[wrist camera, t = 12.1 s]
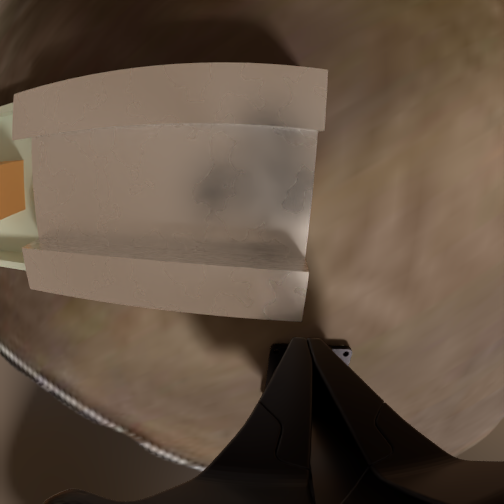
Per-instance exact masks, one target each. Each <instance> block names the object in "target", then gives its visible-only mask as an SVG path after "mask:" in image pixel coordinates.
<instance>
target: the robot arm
mask: <svg viewBox="0 0 504 504" xmlns="http://www.w3.org/2000/svg"><path fill="white" fill-rule="evenodd" d="M276 349H278V350H279V351H274V350H276ZM344 352H347V353H344ZM351 356H352V350H351V348H350V347H349V346H327V345H326V344H325V343H324V342H323V341H322V340H321V339H319V338H308V339H307V340H306V338H298V337H294V338H292V340H291V342H290V344H273V345H272V346H271V347H270V354H269V362H268V370H267V379H266V387H265V391H264V393H263V394H262V396H261V398H260V400H259V402H258V404H257V405H256V407H255V408H254V410H253V412H252V413H251V415H250V417H249V418H248V420H247V421H246V423H245V424H244V426H243V427H242V428H241V429H240V431H239V432H238V433H237V434H236V436H235V437H234V438H233V439H232V440H231V441H230V443H229V444H228V445H227V446H226V447H225V448H224V449H223V450H222V452H221V453H220V454H219V455H218V456H217V457H216V458H215V459H214V460H213V461H212V463H211V464H210V465H209V466H208V467H207V468H206V469H205V470H204V471H202V472H201V473H200V474H199V475H198V476H196V477H195V478H193V479H191V480H189V481H187V482H185V483H182V484H180V485H178V486H175V487H173V488H170V489H168V490H165V491H163V492H161V493H158V494H155V495H152V496H149V497H147V498H144V499H140V500H136V501H126V502H125V501H116V500H111V499H107V498H104V497H101V496H98V495H96V494H93V493H90V492H87V491H84V490H79V489H68V490H65V491H63V492H60V493H58V494H56V495H54V496H52V497H50V498H48V499H47V500H45V502H44V503H42V504H504V462H498V461H497V462H494V461H467V460H462V459H458V458H456V457H453V456H452V455H450V454H448V453H447V452H445V451H444V450H442V449H441V448H440V447H438V446H437V445H436V444H434V443H433V442H432V441H430V440H429V439H428V438H426V437H425V436H424V435H422V434H421V433H420V432H418V431H417V430H416V429H415V428H413V427H412V426H411V425H410V424H408V423H407V422H406V421H405V420H404V419H402V418H401V417H400V416H399V415H398V414H397V413H396V412H395V411H394V410H393V409H392V408H391V407H390V406H389V405H388V404H386V403H384V401H383V400H382V399H381V398H380V397H379V396H378V395H377V394H376V393H375V392H374V391H373V390H372V389H371V388H370V387H369V386H368V385H367V384H366V383H365V382H364V381H363V380H362V379H361V378H360V377H359V376H358V375H357V374H356V373H355V372H354V371H353V370H352V369H351V368H350V367H349V363H350V359H351Z"/></svg>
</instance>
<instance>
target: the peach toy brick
mask: <svg viewBox="0 0 504 504" xmlns="http://www.w3.org/2000/svg"><path fill="white" fill-rule="evenodd" d="M25 209H26V207H25V192H24V160H15V161H3V162H0V220H2V219H4V218H6V217H8V216H11V215H13V214H15V213H18V212H20V211H22V210H25Z"/></svg>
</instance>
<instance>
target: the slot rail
mask: <svg viewBox="0 0 504 504" xmlns="http://www.w3.org/2000/svg"><path fill="white" fill-rule="evenodd" d="M327 79H328V70H325V69H317V68H309V67H300V66H290V65H278V64H262V63H230V62H216V63H184V64H168V65H156V66H146V67H137V68H129V69H122V70H115V71H109V72H103V73H97V74H92V75H86V76H81V77H77V78H72V79H67V80H63V81H59V82H55V83H51V84H47V85H43V86H40V87H36V88H33V89H29V90H26V91H22V92H19V93H16V94H14V101H13V120H12V141H13V140H21V139H29V138H32V177H33V192H34V203H35V213H36V221H37V229H38V236H39V238H38V239H36V240H35V241H33V242H31V243H29V244H28V245H26V246H24V247H22V252H23V257H24V262H25V267H26V272H27V276H28V281H29V285H30V289H34V290H39V291H44V292H49V293H55V294H60V295H66V296H71V297H77V298H83V299H89V300H96V301H102V302H108V303H115V304H122V305H129V306H136V307H144V308H152V309H160V310H168V311H177V312H186V313H195V314H205V315H215V316H226V317H238V318H251V319H264V320H280V321H297V322H302V317H303V310H304V304H305V297H306V291H307V284H308V277H309V270H308V266H307V263H306V259H305V254H306V246H307V238H308V229H309V221H310V211H311V202H312V192H313V182H314V171H315V160H316V147H317V135H318V132H320V131H324V129H325V115H326V98H327Z"/></svg>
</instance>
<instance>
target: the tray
mask: <svg viewBox="0 0 504 504" xmlns="http://www.w3.org/2000/svg"><path fill="white" fill-rule="evenodd" d="M12 120H13V103H10V104H6V105H3V106H0V162H3V161H15V160H24V192H25V207H26V209H25V210H22V211H20V212H18V213H15V214H13V215H11V216H8V217H6V218H4V219H2V220H0V266H2V267H8V268H14V269H20V270H26V267H25V262H24V257H23V252H22V247H24V246H26V245H28V244H29V243H31V242H33V241H35V240H36V239H38V238H39V236H38V229H37V221H36V213H35V203H34V192H33V177H32V138H29V139H21V140H13V141H12Z"/></svg>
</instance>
